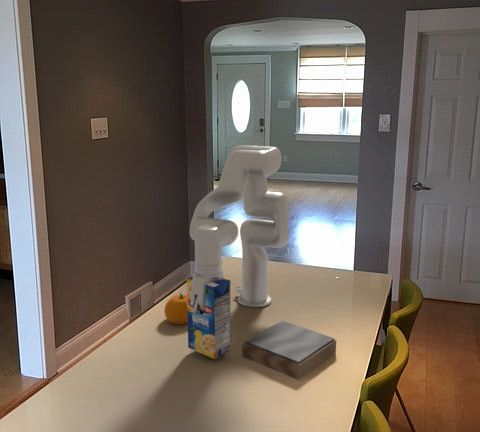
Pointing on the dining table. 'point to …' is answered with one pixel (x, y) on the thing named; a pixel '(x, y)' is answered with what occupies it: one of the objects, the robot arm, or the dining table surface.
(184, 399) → the dining table surface
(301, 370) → the podium
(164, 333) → the dining table surface
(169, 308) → the fruit
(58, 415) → the dining table surface
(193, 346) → the beverage box
